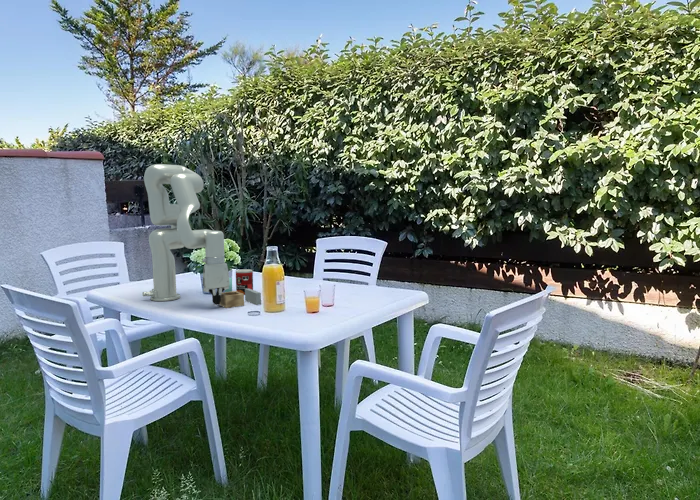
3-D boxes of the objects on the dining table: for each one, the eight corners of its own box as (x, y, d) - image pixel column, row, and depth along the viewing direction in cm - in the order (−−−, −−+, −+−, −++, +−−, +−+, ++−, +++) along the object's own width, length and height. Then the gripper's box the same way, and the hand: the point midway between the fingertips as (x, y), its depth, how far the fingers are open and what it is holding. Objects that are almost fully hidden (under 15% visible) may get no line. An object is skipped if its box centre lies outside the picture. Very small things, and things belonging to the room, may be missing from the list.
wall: (256, 304, 209) (256, 293, 208) (245, 299, 218) (244, 288, 218) (260, 304, 210) (260, 292, 209) (249, 299, 219) (249, 288, 219)
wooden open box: (226, 308, 203) (225, 296, 202) (218, 304, 209) (218, 293, 209) (244, 305, 207) (243, 294, 207) (236, 302, 214) (236, 290, 213)
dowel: (226, 301, 216) (226, 278, 215) (224, 299, 218) (223, 277, 217) (233, 300, 218) (233, 278, 216) (230, 299, 220) (230, 277, 219)
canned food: (232, 294, 231) (232, 271, 230) (244, 291, 238) (243, 268, 237) (245, 295, 228) (245, 272, 226) (256, 292, 235) (255, 269, 233)
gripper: (200, 263, 195) (201, 308, 197) (235, 260, 203) (237, 303, 206) (194, 261, 201) (196, 304, 203) (229, 258, 210) (230, 300, 212)
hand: (216, 304), depth 204 cm, fingers closed
